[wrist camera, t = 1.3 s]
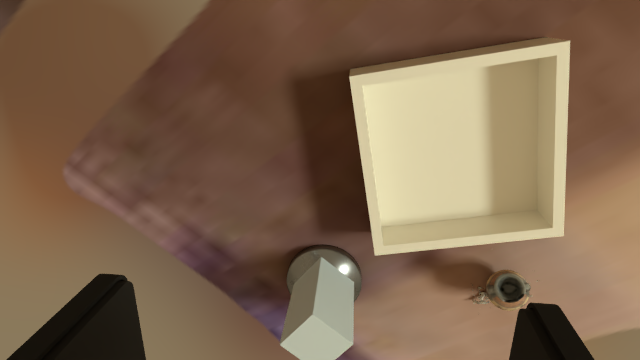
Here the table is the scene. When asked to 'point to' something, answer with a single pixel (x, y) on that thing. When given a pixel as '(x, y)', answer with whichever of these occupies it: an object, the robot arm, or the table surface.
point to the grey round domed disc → (331, 255)
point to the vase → (506, 290)
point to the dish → (465, 145)
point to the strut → (320, 314)
